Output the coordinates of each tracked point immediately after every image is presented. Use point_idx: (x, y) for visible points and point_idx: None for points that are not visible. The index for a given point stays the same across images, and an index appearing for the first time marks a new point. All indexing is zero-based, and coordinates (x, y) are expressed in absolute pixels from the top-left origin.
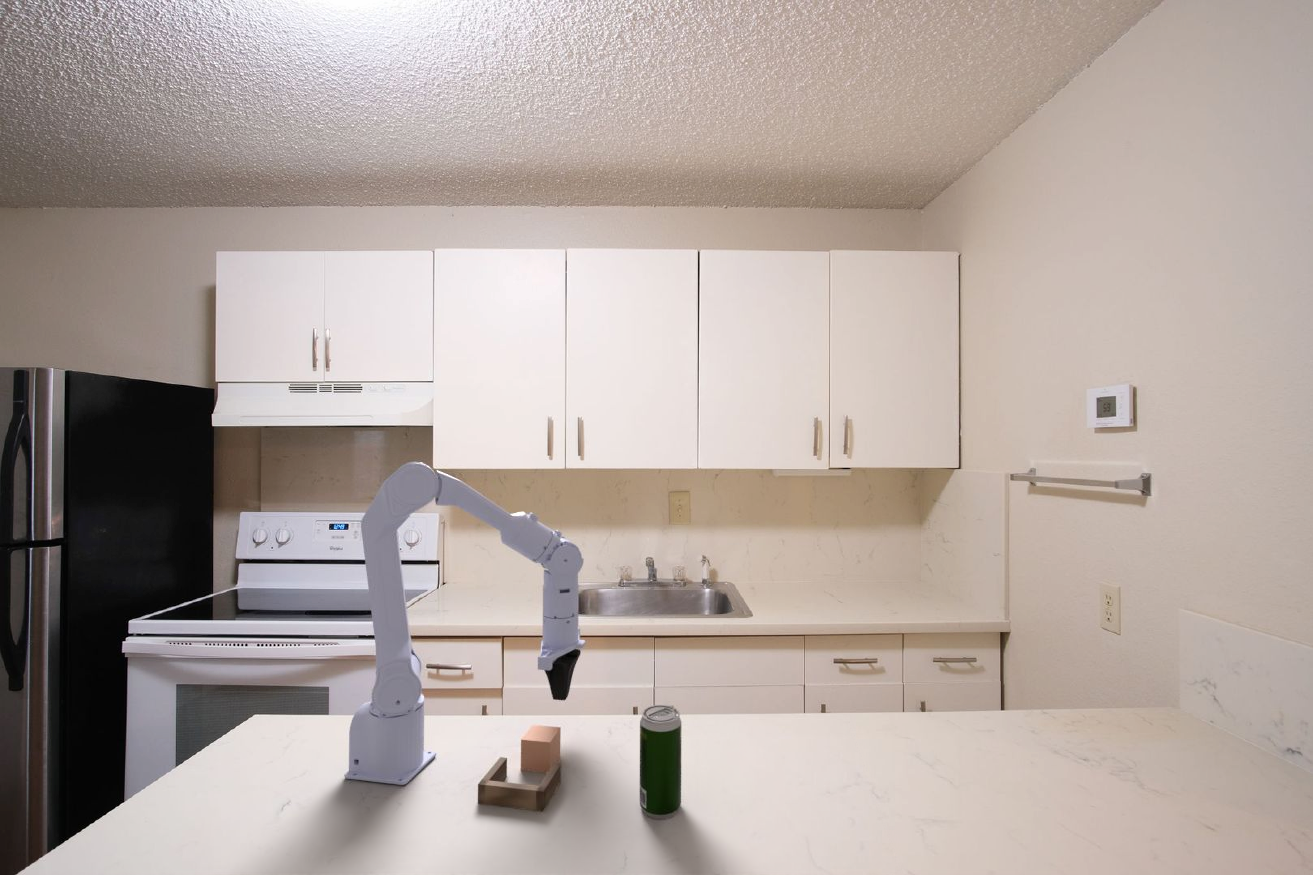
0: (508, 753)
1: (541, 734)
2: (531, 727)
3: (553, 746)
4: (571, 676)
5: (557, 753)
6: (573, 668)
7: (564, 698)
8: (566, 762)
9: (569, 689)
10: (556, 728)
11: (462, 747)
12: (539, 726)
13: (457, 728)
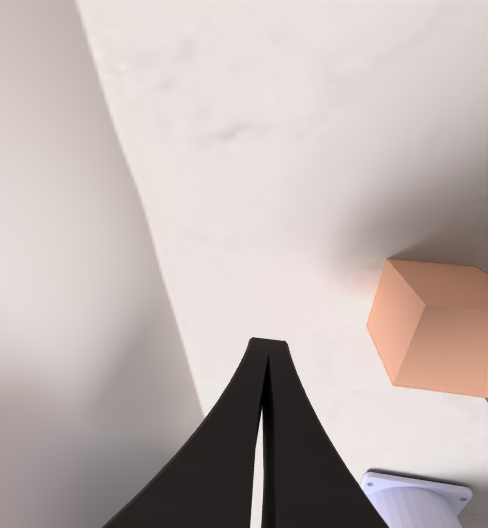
0: (363, 371)
1: (474, 353)
2: (411, 386)
3: (485, 294)
4: (237, 405)
5: (422, 270)
6: (223, 450)
7: (287, 348)
8: (424, 234)
9: (246, 353)
10: (433, 316)
11: (334, 443)
12: (408, 367)
13: (262, 460)
